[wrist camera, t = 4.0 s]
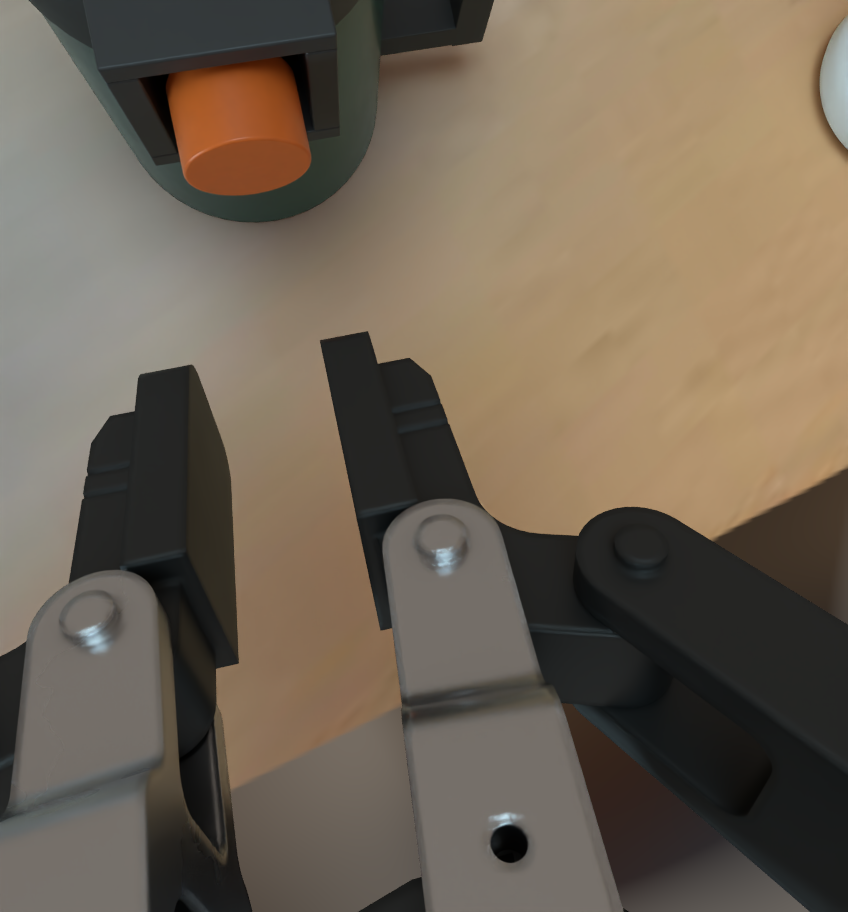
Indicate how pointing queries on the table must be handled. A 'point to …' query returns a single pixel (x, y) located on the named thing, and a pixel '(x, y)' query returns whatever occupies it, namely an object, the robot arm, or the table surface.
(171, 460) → the robot arm
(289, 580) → the table surface
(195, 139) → the lid button
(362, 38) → the jug
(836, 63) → the vodka
